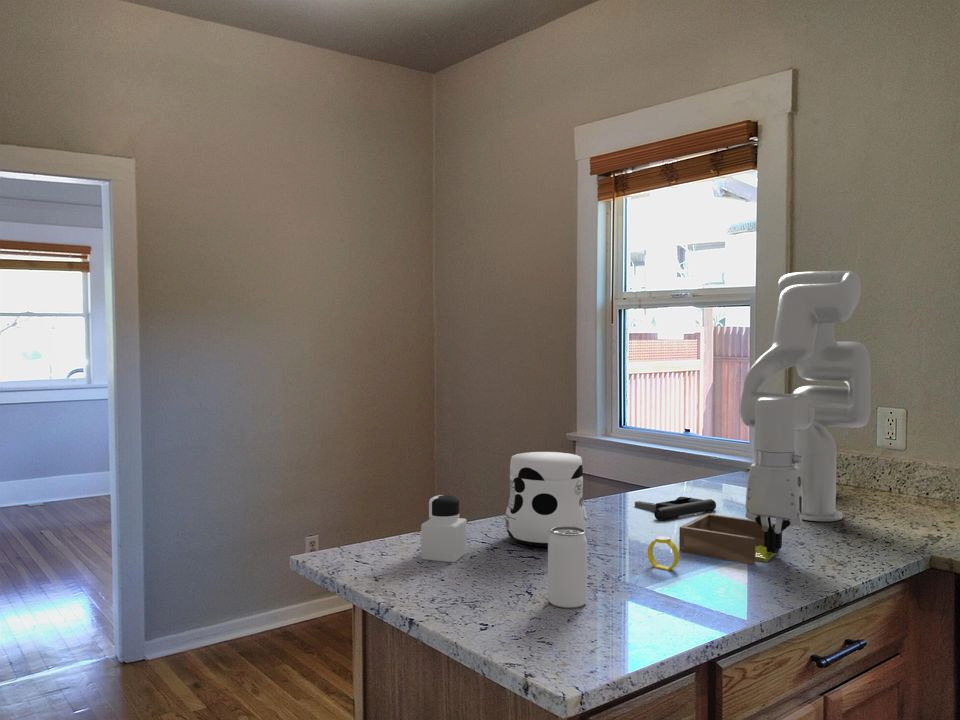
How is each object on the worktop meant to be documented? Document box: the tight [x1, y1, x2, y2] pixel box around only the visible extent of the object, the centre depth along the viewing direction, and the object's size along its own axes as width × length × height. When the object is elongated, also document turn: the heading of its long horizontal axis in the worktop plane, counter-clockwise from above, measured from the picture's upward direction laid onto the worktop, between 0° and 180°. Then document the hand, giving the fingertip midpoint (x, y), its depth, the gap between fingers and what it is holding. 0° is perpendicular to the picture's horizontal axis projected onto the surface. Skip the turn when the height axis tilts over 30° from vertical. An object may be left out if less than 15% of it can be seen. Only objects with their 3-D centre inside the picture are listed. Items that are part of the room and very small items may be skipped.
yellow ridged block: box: [755, 545, 777, 563], centre depth 157 cm, size 10×9×3 cm
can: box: [547, 526, 588, 609], centre depth 130 cm, size 6×6×12 cm
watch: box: [647, 535, 680, 572], centre depth 149 cm, size 6×3×6 cm, turn 48°
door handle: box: [634, 496, 717, 521], centre depth 196 cm, size 3×20×16 cm
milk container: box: [504, 451, 588, 547], centre depth 167 cm, size 17×17×18 cm
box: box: [678, 512, 776, 565], centre depth 161 cm, size 15×15×5 cm
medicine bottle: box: [420, 494, 468, 564], centre depth 156 cm, size 7×7×12 cm
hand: (772, 551), depth 156 cm, fingers closed
